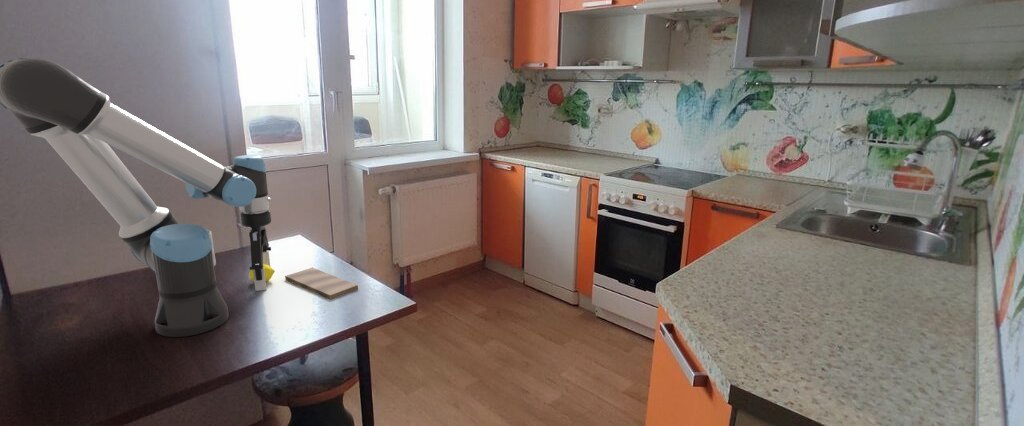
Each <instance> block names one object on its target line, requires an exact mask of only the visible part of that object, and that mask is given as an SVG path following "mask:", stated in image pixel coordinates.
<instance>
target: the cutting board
mask: <svg viewBox="0 0 1024 426" xmlns="http://www.w3.org/2000/svg"><path fill="white" fill-rule="evenodd" d="M284 278H285V279H284V280H285V281H287V282H290V283H291V284H295V285H296V286H299V287H301V288H304V289H306V290H308V291H311V292H313V293H314V294H317V295H319V296H322V297H324V298H326V299H328V300H333V299H335V298H338V297H340V296H343V295H346V294H349V293H351V292H354V291H357V290H359V287H358V286H359V284H356V283H353V282H351V281H348V280H345V279H343V278H341V277H338V276H336V275H332V274H330V273H327V272H325V271H322V270H320V269H317V268H315V267H310V268H307V269H303V270H300V271H297V272H293V273H291V274H287V275H285V276H284Z"/></svg>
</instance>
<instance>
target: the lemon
mask: <svg viewBox="0 0 1024 426" xmlns="http://www.w3.org/2000/svg"><path fill="white" fill-rule="evenodd" d="M263 267H264V271H265V280H266V282H268V281H269V280H271V279H272V278H273V275H274V273H276V272H275V271H276V270H274V269H273V268H272V267H271V265H270V266H268V265H266V264H263ZM248 277H249V278H250V279H251V280H252V281H253V282H254V274H253V270H250V271H249V273H248Z"/></svg>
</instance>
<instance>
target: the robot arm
mask: <svg viewBox="0 0 1024 426" xmlns="http://www.w3.org/2000/svg"><path fill="white" fill-rule="evenodd" d="M0 106H2V107H3V108H5V109H6V110H8V111H9V112H10V113H11V114H12V116H13V117H14V118H15V119H16V120H17V121H18V122H19V124H21V126H22V127H23V128H24V129H25V130H26V132H28V133H29V135H30V136H34V137H40V138H43V139H45V140H46V142H47V143H48V144H49V145H50V146H51V147H52V148H53V150H55V152H56V153H57V154H58V155H59V156H60V158H61V159H62V160H63V161H64V162H65V163H66V164H67V166H68V167H69V169H70V170H72V172H73V173H74V174H75V175H76V176H77V177H78V179H80V181H81V182H82V183H83V184H84V186H86V188H87V189H88V190H89V191H90V193H91V194H92V195H93V196H94V197H95V198H96V200H98V202H99V203H100V204H101V205H102V207H103V208H104V209H105V210H106V211H107V213H109V215H110V216H111V217H112V218H113V220H115V221H116V223H117V224H118V225H119V227H120V228H119V231H118V236H119V238H120V239H121V240H122V241H123V242H124V243H125V245H126V246H128V248H129V250H130V252H131V254H132V256H133V257H134V258H135V259H136V260H137V261H139V262H140V263H142V264H143V265H145V266H147V267H148V268H149V269H151V270H152V271H154V274H155V278H156V279H155V280H156V284H157V291H158V295H159V296H158V297H159V300H158V304H157V309H156V313H155V318H154V326H155V327H154V328H155V332H156V333H157V335H160V336H163V337H166V338H182V337H184V338H185V337H190V336H195V335H200V334H203V333H206V332H209V331H211V330H212V331H213V330H215V329H216V328H218V327H220V326H222V325H223V324H225V323H226V322H227V321H228V319H229V317H230V316H229V309H228V305H227V303H226V302H225V300H224V298H223V295H222V294H221V292H220V290H219V289H218V286H217V280H216V272H215V267H214V263H213V255H212V242H211V239H210V236H209V233H208V231H207V230H208V229H207V228H205V227H203V226H201V225H198V224H194V223H193V224H190V223H180V222H179V221H178V220H177V218H176V217H175V216H174V215H173V213H172V212H171V211H170V210H169V208H167V207H163V206H158V205H156V203H155V201H154V200H153V199H152V198H151V197H150V195H149V194H148V193H147V191H146V190H145V189H144V188H143V186H142V185H141V184H140V183H139V181H138V180H137V179H136V177H134V175H133V174H132V172H131V171H130V169H128V167H127V166H126V165H125V164H124V163H123V161H122V160H121V159H120V158H119V156H118V155H117V154H116V152H115V151H114V150H113V149H112V148H111V147H114V148H115V149H118V150H119V151H122V152H123V153H125V154H127V155H129V156H132V157H134V158H135V159H138V160H140V161H142V162H144V163H145V164H147V165H150V166H151V167H153V168H155V169H157V170H159V171H162V172H163V173H165V174H166V175H170V176H171V177H174V178H175V179H177V180H180V181H182V182H184V184H185V190H186V191H187V194H188V195H189V197H190V198H191V199H194V200H197V199H203V200H204V199H206V198H212V199H214V200H217V201H220V202H223V203H225V204H228V205H229V206H231V207H238V208H239V211H240V212H241V213H240V221H241V224H242V226H243V227H244V228H245V227H246V228H248V227H249V228H251V229H250V232H249V233H248V234H249V241H250V262H251V263H250V264H251V266H249V270H250V271H251V270H253V274H254V281H253V282H254V288H255V291H256V292H258V291H266V290H267V281H266V280H265V271H264V267H263V264H266V265H268V266H270V267H271V261H270V260H271V259H270V251H272V247H271V246H270V244H269V240H268V235H267V228H266V226H268V225H269V224H271V222H272V217H271V211H270V202H271V201H272V198H271V197H269V190H268V178H267V169H266V164H265V160H264V157H262V156H261V155H257V154H246V155H245V154H243V155H242V154H241V155H239V156H235V157H234V158H233V164H230V165H223V164H221V163H219V162H217V161H216V160H213V159H212V158H211V157H210V158H209V156H206V155H205V154H203V153H201V152H199V151H197V150H196V149H194V148H191V147H190V146H188V145H187V144H185V143H183V142H181V141H180V140H178V139H176V138H174V137H173V136H170V135H169V134H167V133H166V132H163V131H162V130H159V129H158V128H156V127H155V126H152V124H149V123H147V122H146V121H144V120H142V119H140V118H139V117H137V116H135V115H133V114H131V113H129V112H128V111H127V110H124V109H122V108H120V107H119V106H118V105H115V104H113V103H112V102H111V100H110V97H109V95H108V94H106V93H105V92H103V91H101V90H99V89H98V88H96V87H94V86H92V85H91V84H90V83H88V82H86V81H85V80H83V79H82V78H80V77H79V76H78V75H76V74H75V73H73V72H72V71H70V70H69V69H68V68H66V67H64V66H62V65H61V64H58V63H57V62H54V61H52V60H50V59H49V60H48V59H44V58H36V57H18V58H16V59H15V58H14V59H9V60H8V61H6V62H3V63H2V64H0Z"/></svg>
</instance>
